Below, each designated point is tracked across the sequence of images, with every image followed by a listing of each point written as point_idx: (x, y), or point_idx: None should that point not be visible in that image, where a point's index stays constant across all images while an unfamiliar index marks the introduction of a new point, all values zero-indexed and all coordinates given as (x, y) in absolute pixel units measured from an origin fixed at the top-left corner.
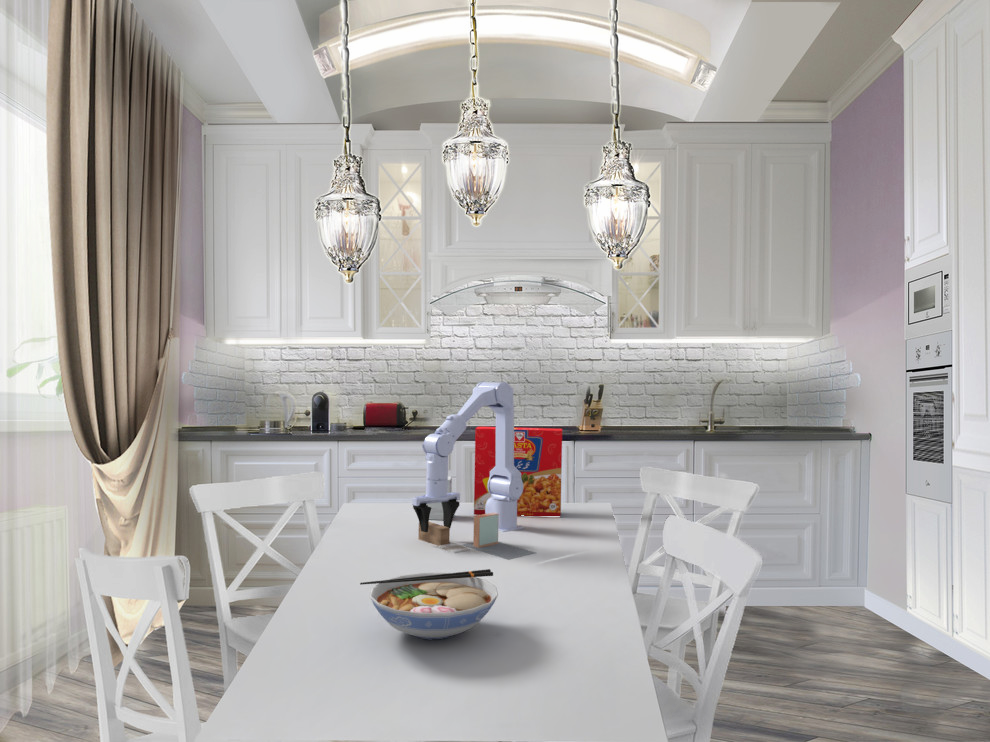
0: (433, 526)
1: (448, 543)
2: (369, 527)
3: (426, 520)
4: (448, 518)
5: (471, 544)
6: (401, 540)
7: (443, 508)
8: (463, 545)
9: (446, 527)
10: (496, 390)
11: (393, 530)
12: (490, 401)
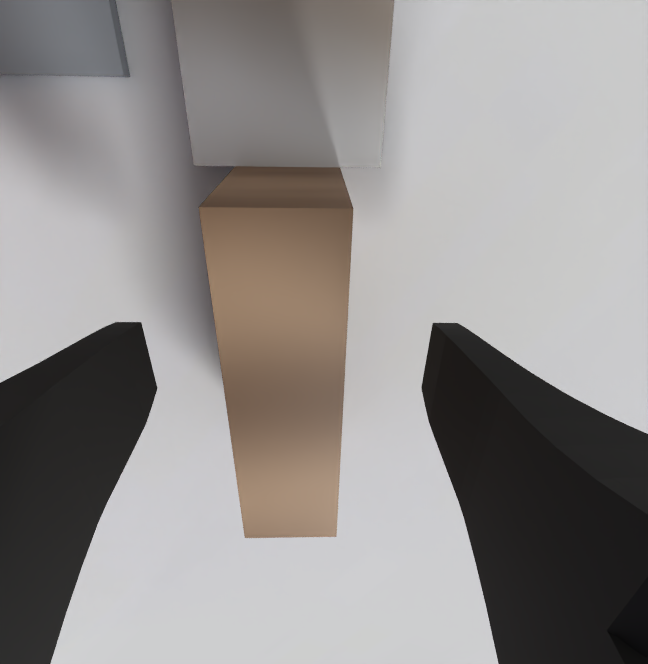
0: (331, 373)
1: (245, 166)
2: (353, 656)
3: (541, 389)
4: (86, 406)
5: (9, 6)
6: (404, 472)
7: (58, 604)
8: (117, 39)
9: (230, 245)
10: None
11: (301, 601)
12: None
